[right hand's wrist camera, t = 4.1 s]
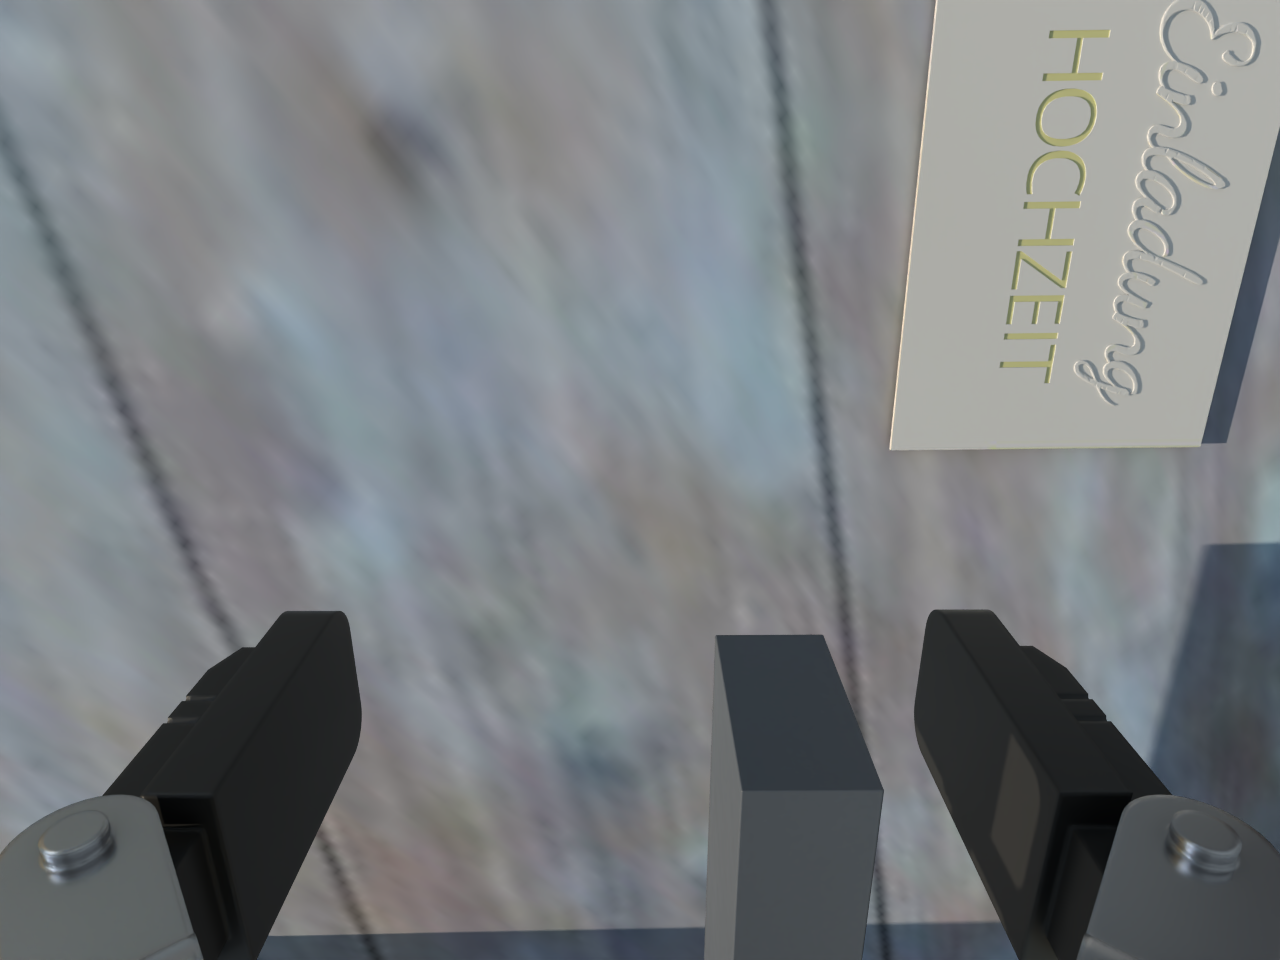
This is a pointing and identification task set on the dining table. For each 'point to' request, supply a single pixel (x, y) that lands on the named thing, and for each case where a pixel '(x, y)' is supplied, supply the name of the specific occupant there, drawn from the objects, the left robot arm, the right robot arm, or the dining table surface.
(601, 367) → the dining table surface
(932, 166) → the invitation card
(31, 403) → the dining table surface
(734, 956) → the bar
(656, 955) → the dining table surface
